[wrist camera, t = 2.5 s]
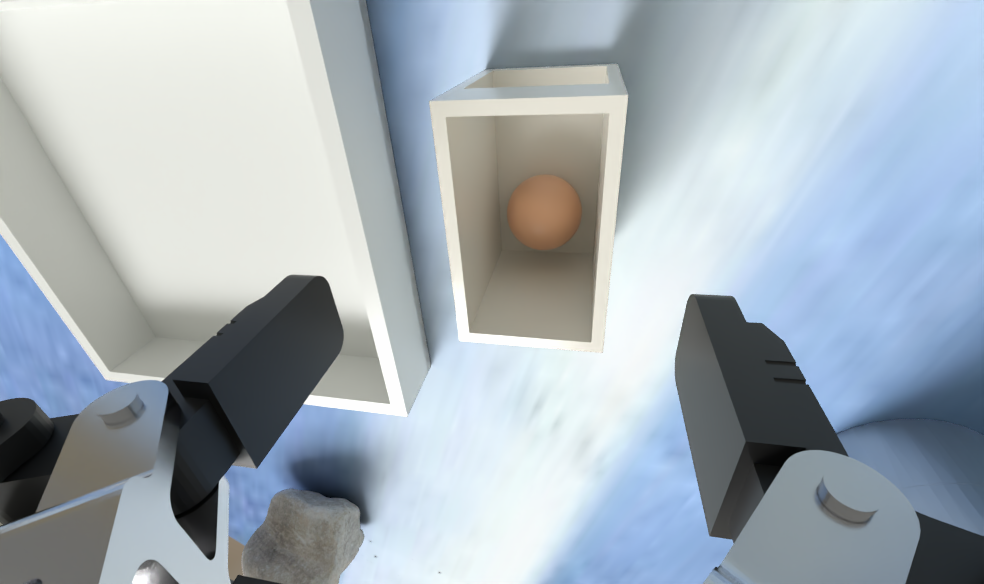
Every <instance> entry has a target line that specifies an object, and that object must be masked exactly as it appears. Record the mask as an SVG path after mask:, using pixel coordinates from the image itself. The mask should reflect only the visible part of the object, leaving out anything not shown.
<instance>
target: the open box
mask: <svg viewBox="0 0 984 584" xmlns="http://www.w3.org/2000/svg"><path fill="white" fill-rule="evenodd" d="M627 103H628V93H627V90H626V87H625V84H624V81H623V78H622V75H621V72H620V69H619V66H618V63H617V64H595V65H572V66H550V67H527V68H505V69H485V70H484V71H482V72H480V73H478V74H476V75H475V76H473V77H471V78H469V79H467V80H466V81H464V82H462V83H460V84H459V85H457V86H455V87H453V88H451V89H450V90H448V91H446V92H444V93H443V94H441V95H439V96H437V97H435V98H434V99H432V100H430V101H429V104H430V112H431V120H432V128H433V136H434V144H435V152H436V160H437V168H438V176H439V184H440V191H441V199H442V207H443V215H444V223H445V231H446V239H447V247H448V255H449V263H450V271H451V278H452V286H453V294H454V302H455V310H456V318H457V326H458V334H459V341H466V342H478V343H490V344H502V345H514V346H526V347H538V348H550V349H562V350H574V351H586V352H598V353H603V346H604V336H605V325H606V315H607V305H608V295H609V285H610V275H611V265H612V255H613V244H614V234H615V224H616V214H617V204H618V194H619V184H620V174H621V164H622V153H623V143H624V133H625V123H626V113H627ZM544 174H547V175H554V176H557V177H560V178H562V179H564V180H565V181H567V182H568V183H569V184H570V185H571V186H572V187H573V188H574V189H575V190H576V192H577V194H578V196H579V198H580V202H581V206H582V217H581V222H580V225H579V227H578V229H577V231H576V233H575V234H574V236H573V237H572V238H571V239H570V240H569V241H568V242H566V243H565V244H564V245H562V246H560V247H558V248H555V249H551V250H537V249H532V248H530V247H527V246H526V245H524V244H522V243H521V242H520V241H519V240H518V239H517V238H516V237H515V236H514V234H513V233H512V231H511V229H510V227H509V224H508V220H507V206H508V202H509V199H510V197H511V195H512V193H513V192H514V190H515V189H516V188H517V187H518V185H520V184H521V183H522V182H523V181H525V180H526V179H528V178H530V177H533V176H536V175H544Z"/></svg>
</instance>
